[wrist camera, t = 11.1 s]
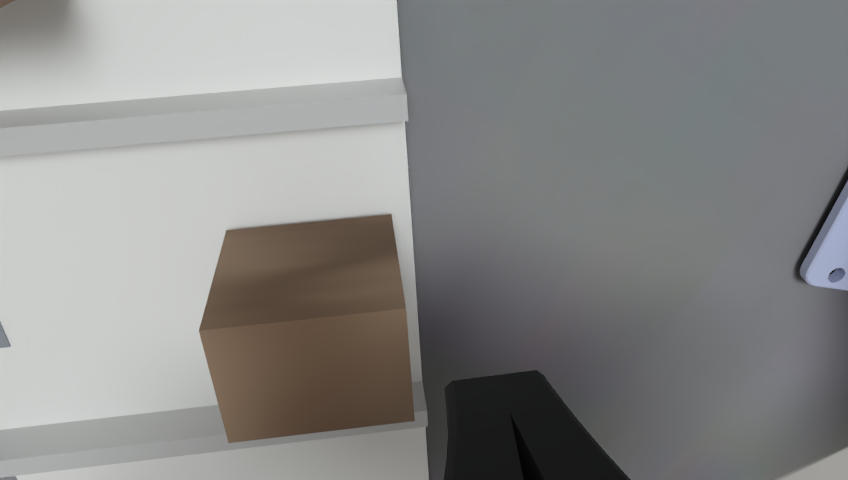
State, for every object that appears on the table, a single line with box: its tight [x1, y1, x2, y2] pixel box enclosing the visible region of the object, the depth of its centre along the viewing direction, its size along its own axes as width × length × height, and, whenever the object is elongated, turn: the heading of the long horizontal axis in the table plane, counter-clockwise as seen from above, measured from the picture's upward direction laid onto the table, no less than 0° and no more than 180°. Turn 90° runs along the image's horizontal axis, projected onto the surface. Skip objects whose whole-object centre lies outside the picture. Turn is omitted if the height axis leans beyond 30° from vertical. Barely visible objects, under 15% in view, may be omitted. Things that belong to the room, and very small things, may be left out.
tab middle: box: [199, 214, 415, 443], centre depth 16 cm, size 4×3×4 cm
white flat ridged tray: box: [0, 0, 429, 480], centre depth 18 cm, size 12×23×3 cm, turn 3°
